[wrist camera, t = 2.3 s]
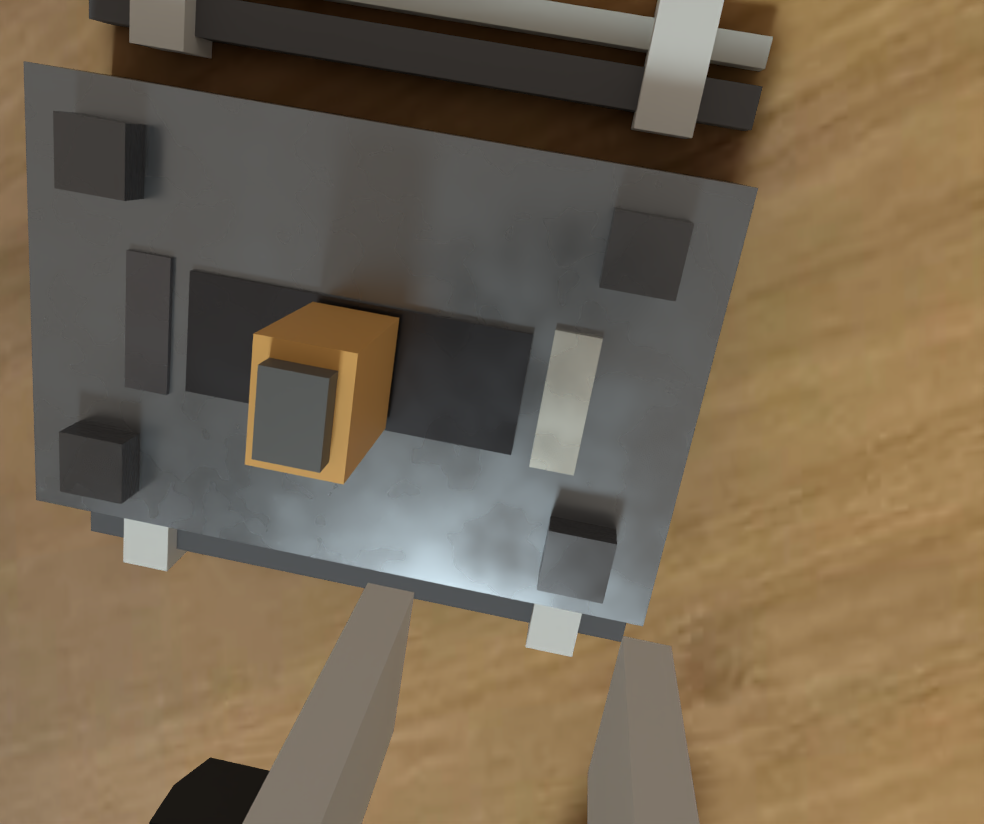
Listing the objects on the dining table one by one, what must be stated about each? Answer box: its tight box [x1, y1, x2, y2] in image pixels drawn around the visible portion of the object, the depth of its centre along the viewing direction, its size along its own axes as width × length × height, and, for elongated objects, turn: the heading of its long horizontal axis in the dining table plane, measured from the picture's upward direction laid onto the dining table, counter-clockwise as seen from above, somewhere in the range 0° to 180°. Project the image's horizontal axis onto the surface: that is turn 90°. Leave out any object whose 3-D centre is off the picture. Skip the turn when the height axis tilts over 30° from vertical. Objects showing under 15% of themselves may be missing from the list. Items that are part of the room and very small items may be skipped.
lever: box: [245, 302, 399, 485], centre depth 25 cm, size 3×4×6 cm
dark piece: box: [89, 0, 773, 657], centre depth 31 cm, size 24×26×2 cm
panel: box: [24, 61, 758, 626], centre depth 30 cm, size 24×16×6 cm, turn 81°
